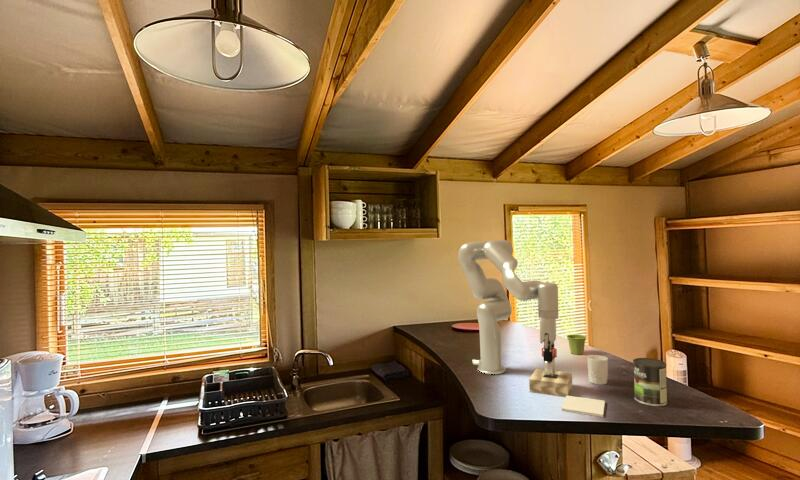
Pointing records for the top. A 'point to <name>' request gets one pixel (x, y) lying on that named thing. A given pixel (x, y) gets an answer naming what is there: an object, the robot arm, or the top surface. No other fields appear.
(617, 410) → the top surface
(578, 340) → the plant pot
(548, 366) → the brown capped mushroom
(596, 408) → the pad
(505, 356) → the top surface
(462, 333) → the top surface
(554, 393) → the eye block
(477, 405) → the top surface
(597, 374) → the white cup
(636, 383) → the coffee can
